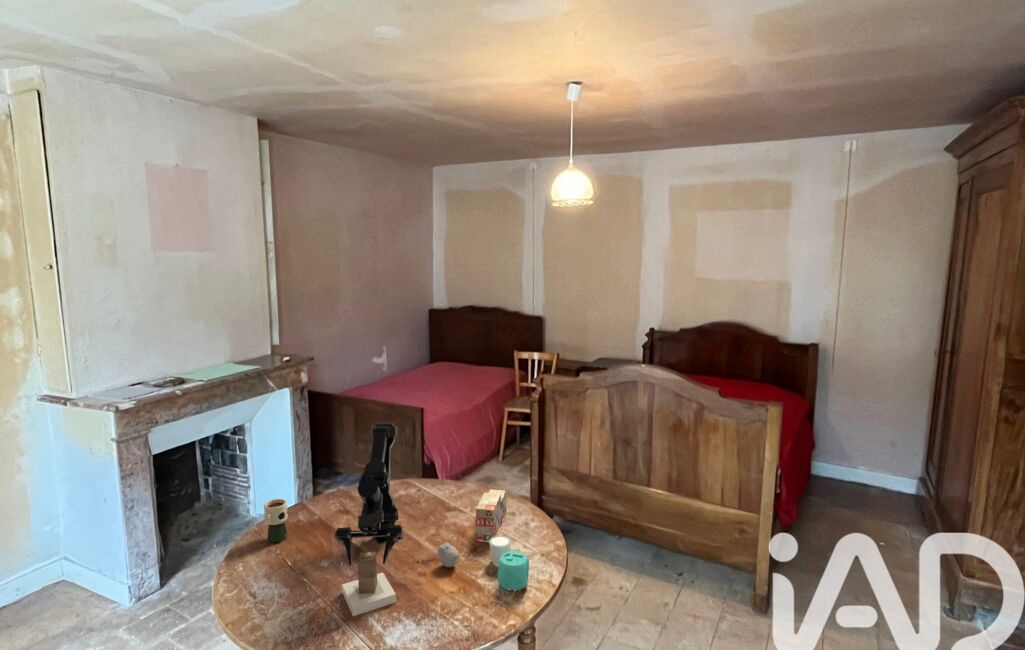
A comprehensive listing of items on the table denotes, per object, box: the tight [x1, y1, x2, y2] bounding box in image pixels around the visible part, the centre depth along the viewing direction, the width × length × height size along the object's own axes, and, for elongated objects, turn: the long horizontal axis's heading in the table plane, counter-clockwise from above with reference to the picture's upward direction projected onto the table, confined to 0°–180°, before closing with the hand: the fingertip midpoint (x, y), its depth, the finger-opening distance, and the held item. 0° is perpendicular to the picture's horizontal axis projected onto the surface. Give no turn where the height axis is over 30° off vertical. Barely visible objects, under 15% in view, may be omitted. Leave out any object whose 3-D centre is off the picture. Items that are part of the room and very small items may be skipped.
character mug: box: [263, 498, 289, 543], centre depth 188 cm, size 11×7×13 cm, turn 175°
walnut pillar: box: [357, 550, 378, 594], centre depth 157 cm, size 4×4×10 cm
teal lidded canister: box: [497, 550, 530, 591], centre depth 164 cm, size 8×8×8 cm
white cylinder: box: [488, 535, 512, 565], centre depth 175 cm, size 7×7×7 cm
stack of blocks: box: [475, 489, 507, 541], centre depth 196 cm, size 21×6×12 cm, turn 169°
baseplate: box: [341, 572, 397, 617], centre depth 158 cm, size 12×12×3 cm
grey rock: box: [437, 542, 460, 568], centre depth 173 cm, size 6×7×7 cm
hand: (367, 565), depth 156 cm, fingers open, 9 cm apart
